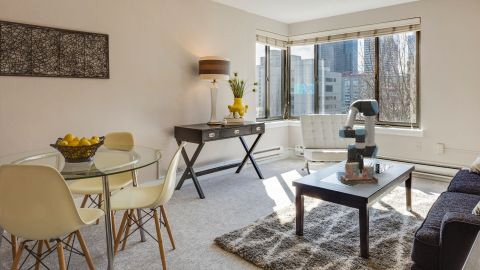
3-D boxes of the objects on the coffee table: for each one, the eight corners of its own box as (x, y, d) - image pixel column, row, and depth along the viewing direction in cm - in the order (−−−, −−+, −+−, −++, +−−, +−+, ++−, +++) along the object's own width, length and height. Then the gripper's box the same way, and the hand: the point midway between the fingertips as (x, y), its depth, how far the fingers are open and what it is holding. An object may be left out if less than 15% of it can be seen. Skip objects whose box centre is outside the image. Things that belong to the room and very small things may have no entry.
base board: (340, 179, 278) (340, 174, 278) (373, 179, 276) (373, 175, 275) (343, 183, 266) (344, 178, 266) (378, 183, 264) (378, 178, 263)
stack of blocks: (369, 176, 276) (370, 161, 274) (373, 178, 270) (374, 163, 268) (345, 177, 272) (345, 162, 271) (349, 179, 266) (349, 164, 264)
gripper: (352, 145, 278) (351, 173, 281) (358, 149, 258) (357, 179, 261) (361, 145, 277) (360, 173, 280) (368, 149, 258) (367, 179, 260)
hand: (359, 176), depth 271 cm, fingers closed on stack of blocks, 7 cm apart
